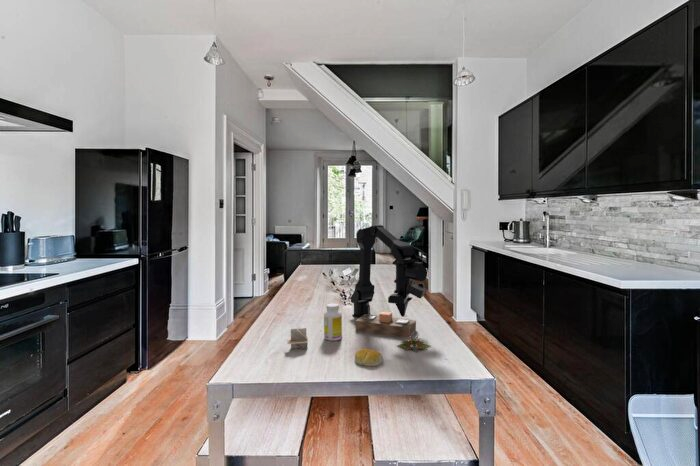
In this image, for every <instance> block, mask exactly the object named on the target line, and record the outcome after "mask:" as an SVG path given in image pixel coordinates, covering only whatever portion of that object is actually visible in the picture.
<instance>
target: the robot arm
mask: <svg viewBox="0 0 700 466" xmlns="http://www.w3.org/2000/svg"><path fill="white" fill-rule="evenodd" d="M355 237H356V243H357V245H358V247H359V249H360V250H359V267H358V268H359V270H358V281H357V282H356V284H355V285H354V292H353V293H352V294H351V296H350V302H351V303H352V304H353V314H352V317H357V318H360V317H362V316H363V315H365V314H369V315H371V305H370V302H373V299H374V295H375V285H374V284H373V283H372V282H371V269H372V268H371V266H372V265H371V264H372V249H373V247H374V245H375V244H376V240H377V239H378V240H379V241H381V242H382V244H384V245H385V246H386V247H387V248H388V249H389V250H390V255H391V256H392V257H393V258H394V261H392V265H395V279H394V280H393V282H394V284H395V289H394V290H393V293H392V294H390V295H389V296H388V297H387V298H388V299H387V302H388V304H395V307H397V310H398V312H399V315H400V317H406V316H405V315H406V313H407V312H406V311H407V309H408V304H409V303H410V301H412V299H413V297H410V295H412V296H414V297H416V298H418V299H423V297H424V295H425V292H426V291H427V290H426V287H425V283H422V282H424V281H425V279H427V277H428V271H427V268H426V267H425V266H424V263H423V262H421V261H419V259H418V256H417V255H416V252H415V250H414V247H413V246H412V245H411V244H409V243H407V242H405V241H402V240H399V239H398V238H397V237H396V236H395V235H393V233H391V232H389V230H388V229H386V228H385V226H384V225H382V224H373V225H371V226H368V227H365V228H359V229H358V230H357V231H356V234H355ZM376 238H377V239H376ZM413 281H417V282H420V283H418V284H417V283H414V282H413Z"/></svg>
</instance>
